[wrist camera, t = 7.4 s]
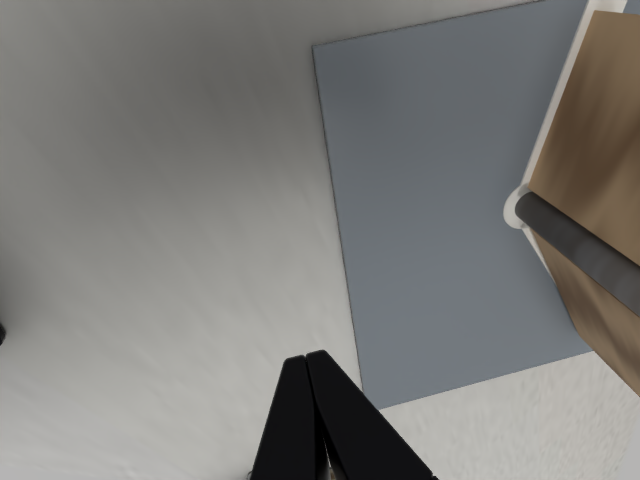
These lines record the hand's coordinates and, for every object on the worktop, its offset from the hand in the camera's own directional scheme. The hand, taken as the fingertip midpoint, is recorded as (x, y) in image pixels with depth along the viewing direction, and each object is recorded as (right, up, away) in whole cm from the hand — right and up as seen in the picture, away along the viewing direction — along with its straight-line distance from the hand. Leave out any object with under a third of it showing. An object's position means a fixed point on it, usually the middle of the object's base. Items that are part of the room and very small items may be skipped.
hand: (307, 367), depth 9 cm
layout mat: (+10, +3, +15) cm, 19 cm away
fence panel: (+15, 0, +17) cm, 22 cm away
